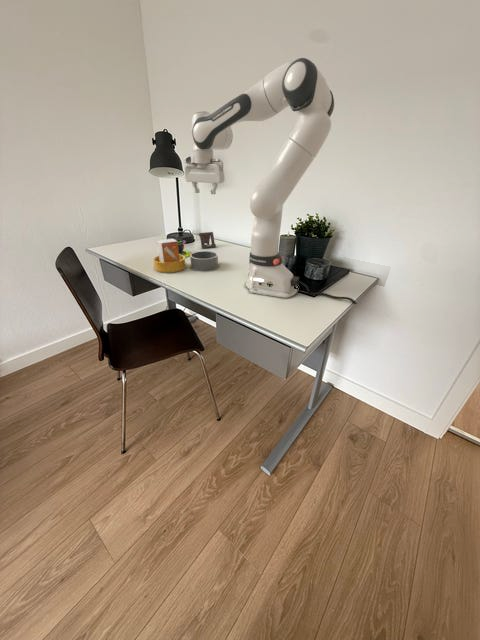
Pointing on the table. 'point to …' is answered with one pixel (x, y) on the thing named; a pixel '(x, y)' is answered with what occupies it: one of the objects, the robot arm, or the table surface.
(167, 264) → the bowl
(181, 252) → the toy cauldron
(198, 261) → the pot
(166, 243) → the small box
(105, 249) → the table surface
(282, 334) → the table surface
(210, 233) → the tablet stand
